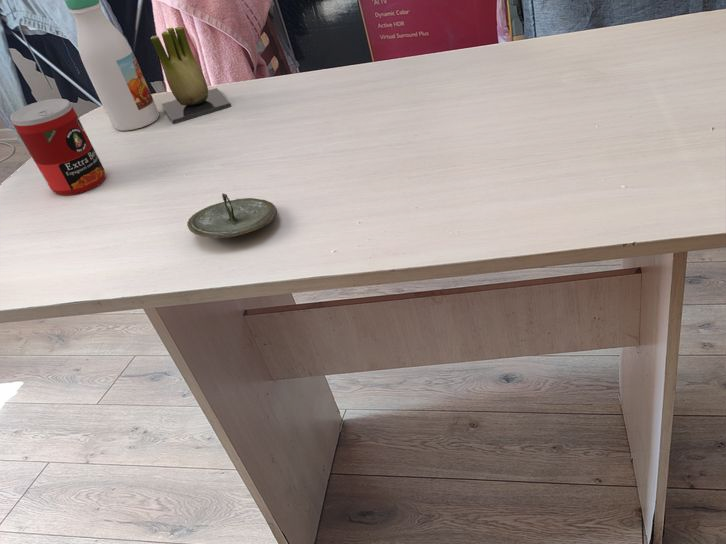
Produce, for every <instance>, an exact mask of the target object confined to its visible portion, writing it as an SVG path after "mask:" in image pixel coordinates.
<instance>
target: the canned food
mask: <svg viewBox="0 0 726 544" xmlns="http://www.w3.org/2000/svg"><path fill="white" fill-rule="evenodd" d="M9 118H10V120H11V124H12V125H13V126H14V129H15V130H16V133H17V134H18V136H19V137H20V140H21V141H22V142H23V144H24V146H25V148H26V149H27V152H28V154H29V155H30V157H31V158H32V160H33V162H34V163H35V165H36V167H37V168H38V170H39V172H40V174H41V176H42V177H43V179H44V181H45V182H46V184H47V186H48V187H49V189H50V190H51V191H52V192H53V193H55V194H56V195H59V196H73V195H74V196H75V195H79V194H83V193H85V192H87V191H91V190H93V189H95V188H96V187H98V186H100V185H101V184H102V183H103V182H104V180H105V179H106V172H105V171H106V170H105V168H104V166H103V164H102V162H101V160H100V158H99V155H98V154H97V152H96V150H95V148H94V146H93V144H92V141H91V140H90V138H89V136H88V134H87V132H86V130H85V128H84V126H83V124H82V122H81V120H80V118H79V116H78V115H77V112H76V111H75V109H74V107H73V105H72V103H71V102H70V100H68V99H66V98H50V99H44V100H40V101H36V102H33V103H29V104H27V105H25V106H22V107H20V108H19V109H17V110H15V111H14V112H13V113H11V115H10V116H9Z"/></svg>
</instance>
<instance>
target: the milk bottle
mask: <svg viewBox="0 0 726 544" xmlns="http://www.w3.org/2000/svg"><path fill="white" fill-rule="evenodd" d="M64 2H65V4H66V6H67V8H68V10H69V13H70V14H72V15H73V19H74V22H75V26H76V35H77V37H76V38H77V49H78V53H79V57H80V59H81V62H82V64H83V67H84V69H85V71H86V73H87V75H88V77H89V80H90V82H91V84H92V85H93V88H94V90H95V92H96V95H97V97H98V99H99V101H100V103H101V105H102V107H103V109H104V111H105V114H106V115H107V117H108V119H109V121H110V123H111V125H112V127H113V128H114V129H115V130H118V131H132V130H137V129H140V128H144V127H146V126H148V125H151V124H153V123H155V122H156V121H157V120H158V118H159V117H160V112H159V110H158V107H157V105H156V103H155V100H154V98H153V96H152V94H151V91H150V89H149V86H148V84H147V81H146V79H145V77H144V75H143V72H142V70H141V68H140V66H139V63H138V61H137V59H136V57H135V54H134V52H133V50H132V48H131V46H130V44H129V43H128V41H127V40H126V38H125V36H124V35H123V34H122V33H121V31H119V30H118V29H117V28H116V26H115V25H113V23H112V22H111V21H110V20H109V19H108V17H107V16H106V15H105V13H104V11H103V10H102V4H101V2H100V0H64Z"/></svg>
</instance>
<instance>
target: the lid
mask: <svg viewBox="0 0 726 544" xmlns="http://www.w3.org/2000/svg"><path fill="white" fill-rule="evenodd" d="M221 196H222V200H223V201H221V202H218V203H214V204H212V205H208V206H206V207H204V208H202V209H200V210H198V211H197V212H195V213H193V214H192V215H191V216H190V217H189V218H188V221H187V222H186V224H187V225H186V226H187V229H188V230H189V231H190V232H191V233H192V234H194V235H196V236H197V237H198V236H199V237H201V238H207V239H208V238H209V239H221V238H222V239H223V238H230V237H232V238H233V237H236V236H237V237H238V236H241V235H245V234H248V233H251V232H255V231H256V230H257V231H258V230H260V229H261V228H263V227H265V226H267V225H269V224H270V223H271V222H273V221H274V220H275V218H277V216H278V215H277V214H278V209H277V207H276V205H275V204H274V203H273V202H271V201H269V200H266V199H260V198H253V197H244V198H236V199H231V200H230V198H229V196H228V194H227V193H222V194H221Z"/></svg>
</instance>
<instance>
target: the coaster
mask: <svg viewBox="0 0 726 544" xmlns="http://www.w3.org/2000/svg"><path fill="white" fill-rule="evenodd" d="M161 107H162V108H163V110H164V112H165V113H166V115H167V117H168V119H169V120H170V122H171V123H172V124H173V125H174V124H177V123H178V124H179V123H181V122H184V121H188V120H190V119H194V118H197V117H201V116H204V115H209V114H210V113H214V112H217V111H220V110H223V109H227V108H231V107H232V103H231V102H230V101H229V100H228V99H227V97H225V95H224V94H223V93H222V92H221V91H220V90H219V89H218V87H214V88H212V89H211V88H210V89H208V97H207V99H206V101H204V102H202V103H200V104H195V105H181V104H180V103H179V102H178V101H177V99H173V100H170V101H165V102H163V103H161Z"/></svg>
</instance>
